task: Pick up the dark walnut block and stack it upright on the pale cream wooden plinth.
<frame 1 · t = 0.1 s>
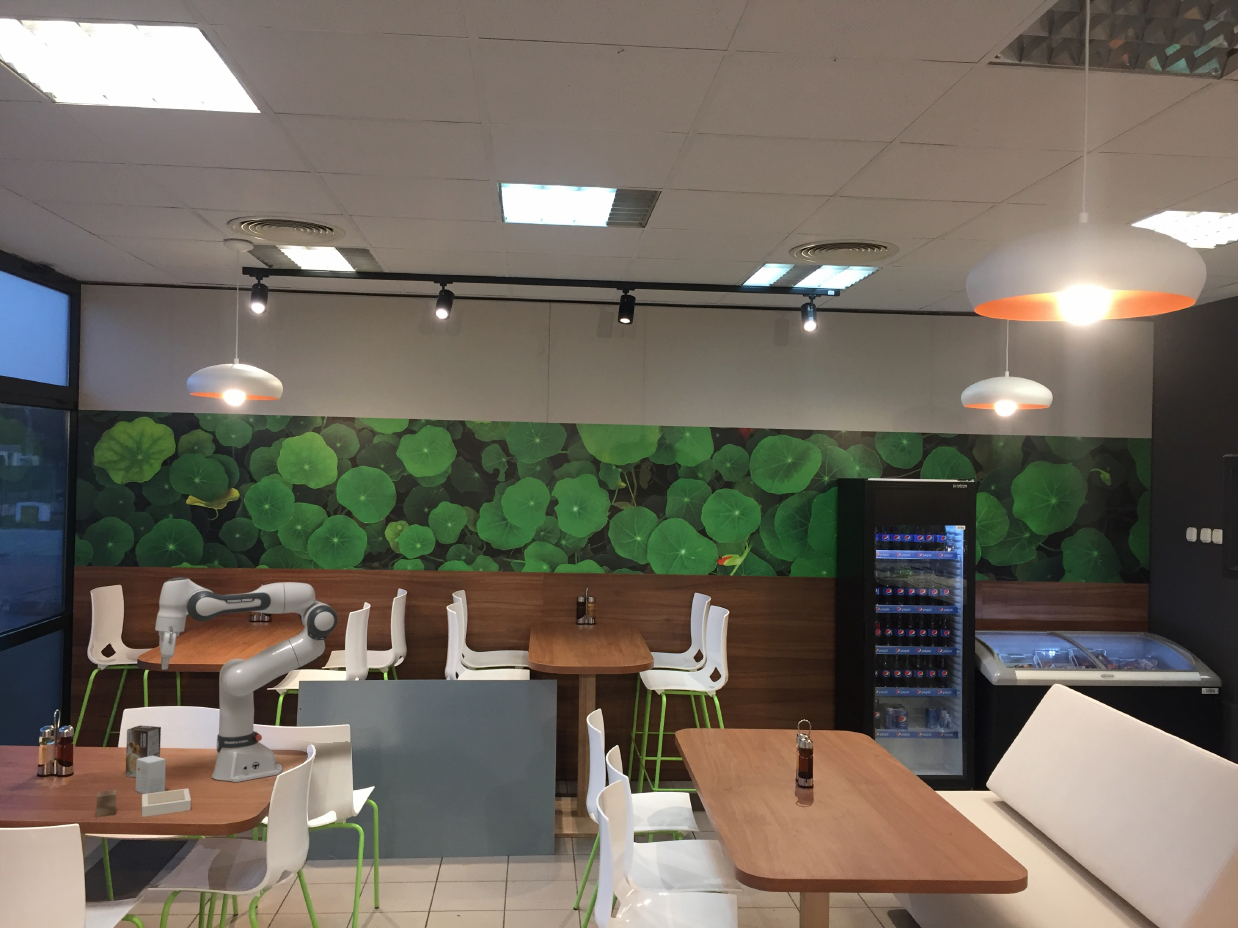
hand: (164, 666, 293), 39 cm above the table, tool pointing down, fingers open, 8 cm apart
walnut block: (105, 813, 262), on the table
small box: (150, 792, 283), on the table
plinth: (165, 806, 269), on the table
coffee box: (142, 775, 300), on the table
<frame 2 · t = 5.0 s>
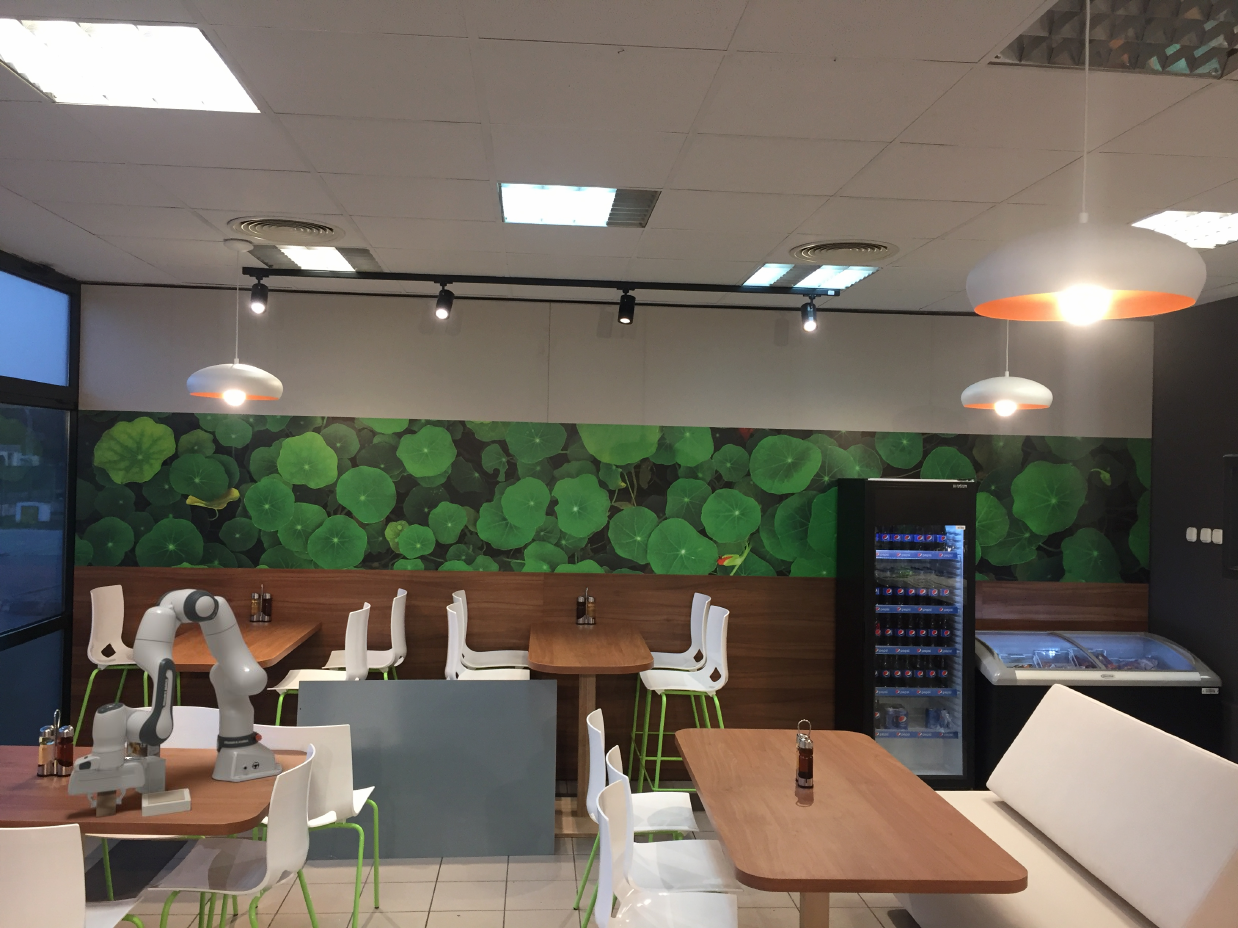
hand: (106, 805, 263), 2 cm above the table, tool pointing down, fingers closed on walnut block, 5 cm apart
walnut block: (105, 813, 262), on the table, touching gripper
everything else where it was.
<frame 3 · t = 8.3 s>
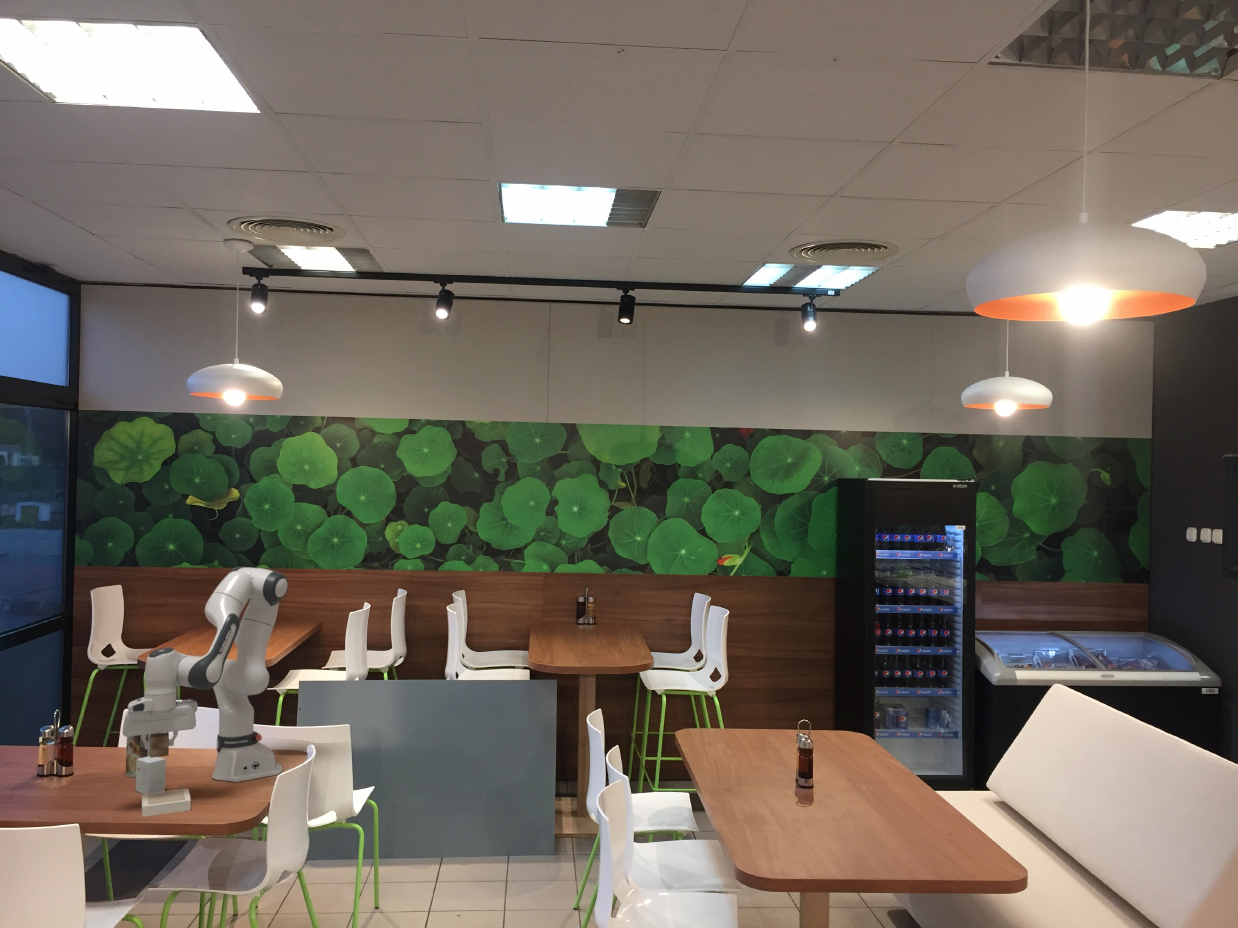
hand: (159, 746, 269), 18 cm above the table, tool pointing down, fingers closed on walnut block, 5 cm apart
walnut block: (159, 754, 269), point 16 cm above the table, touching gripper
everything else where it was.
when the fingers open (7 cm above the table, at t = 11.8 s): walnut block drops 1 cm, resting on plinth.
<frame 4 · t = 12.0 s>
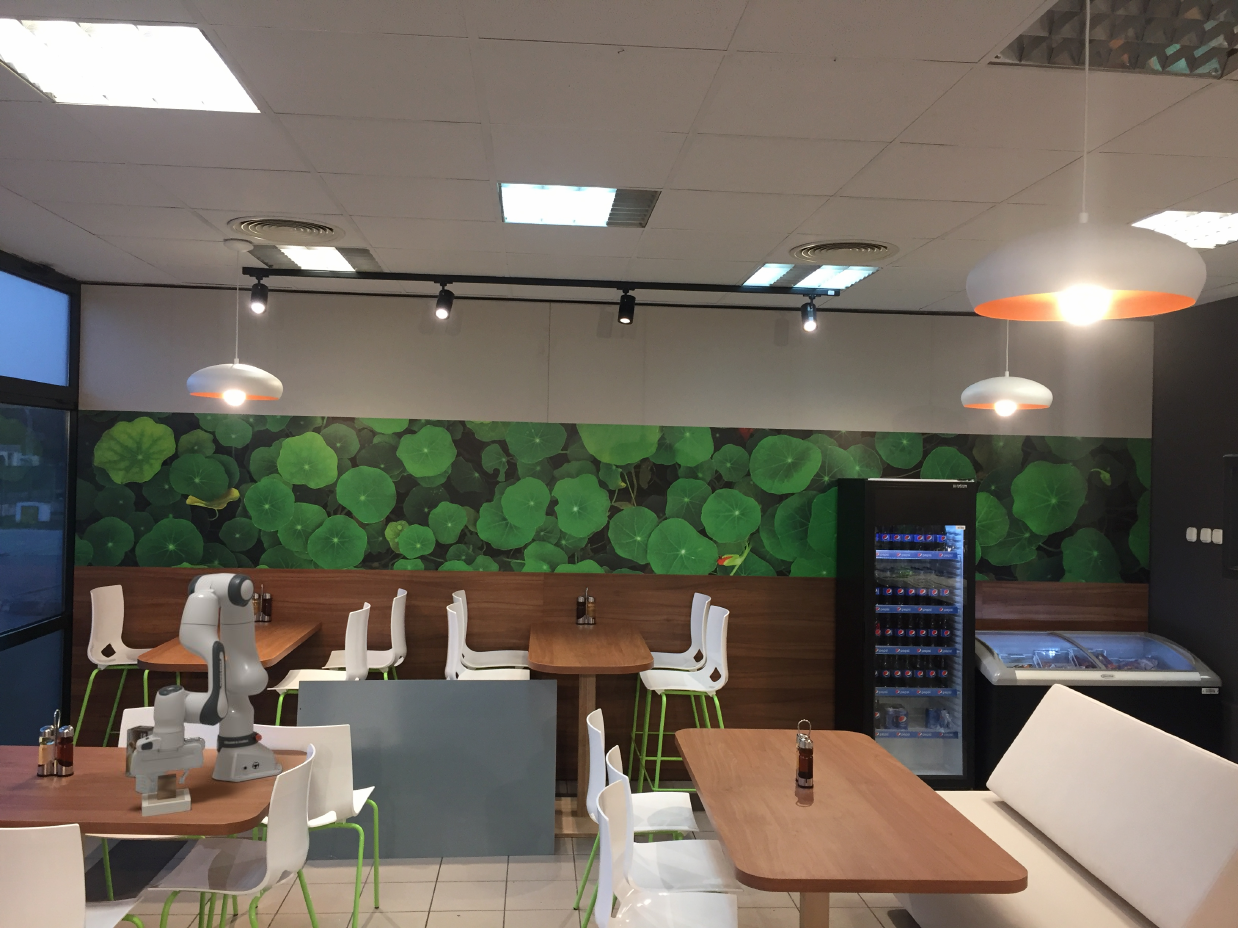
hand: (166, 785, 269), 7 cm above the table, tool pointing down, fingers open, 7 cm apart
walnut block: (166, 796, 269), point 3 cm above the table, touching plinth
everything else where it was.
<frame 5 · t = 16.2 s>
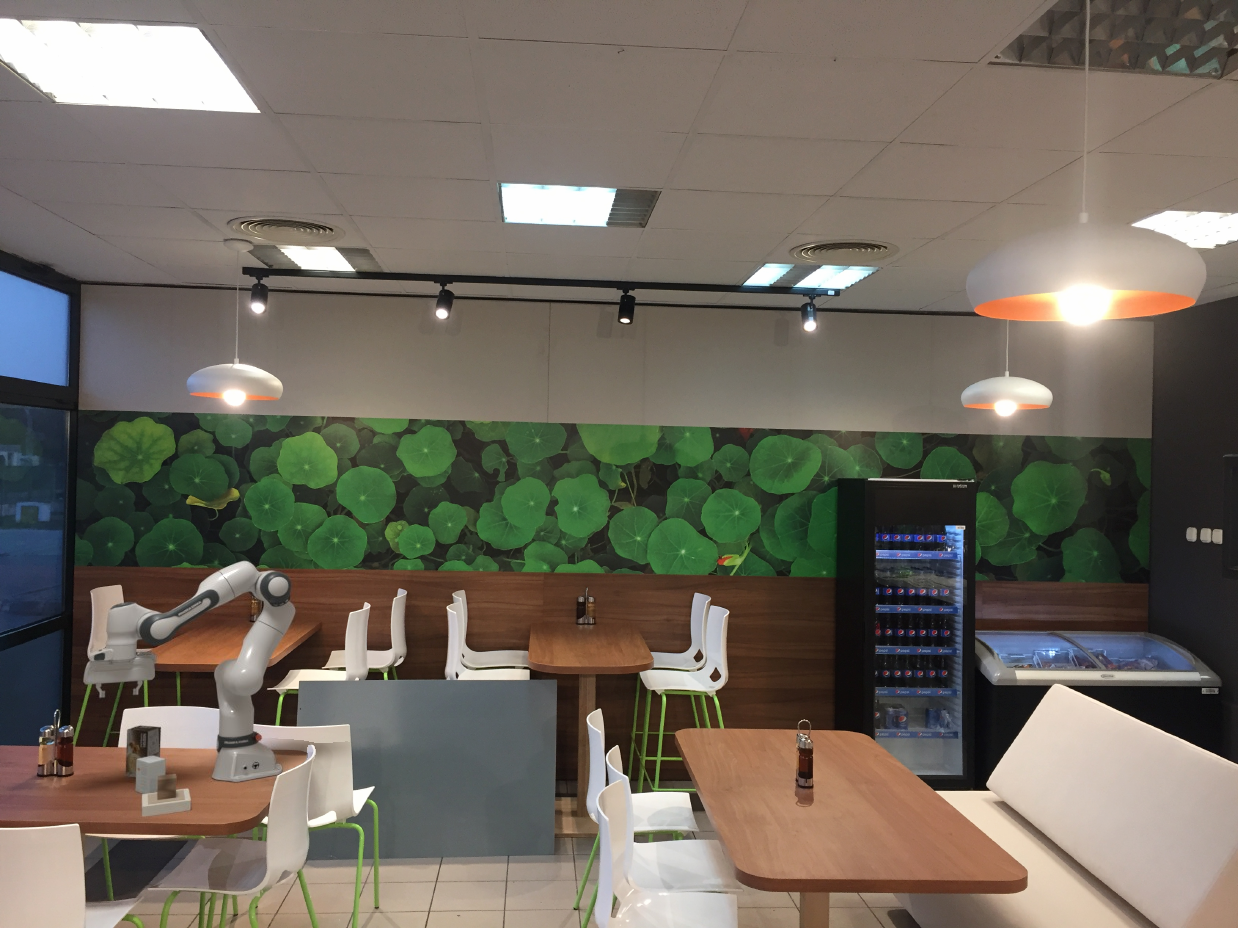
hand: (119, 695, 283), 31 cm above the table, tool pointing down, fingers open, 8 cm apart
nothing on the table moved.
at the end: walnut block inside the target area on the plinth (0.1 cm from its centre), point 3.2 cm above the plinth's base; walnut block tilted 0°; the gripper is holding nothing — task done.
